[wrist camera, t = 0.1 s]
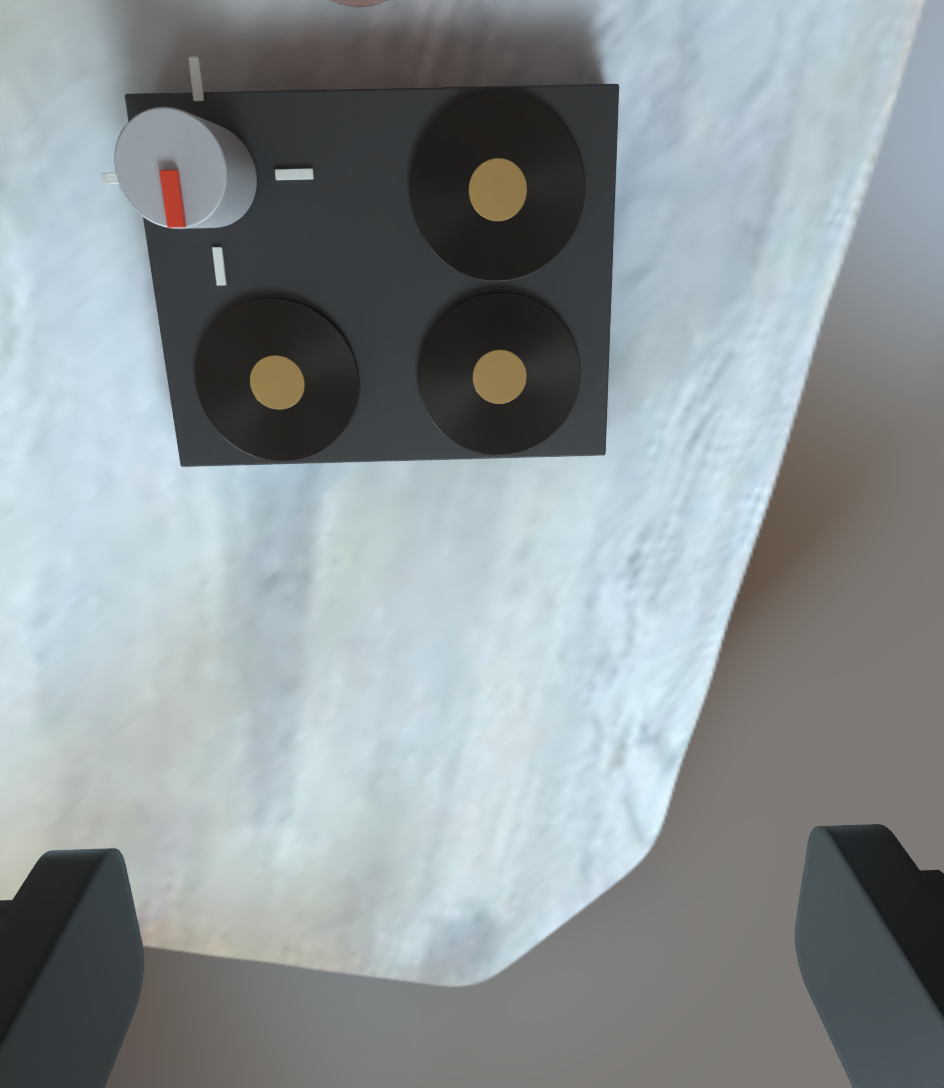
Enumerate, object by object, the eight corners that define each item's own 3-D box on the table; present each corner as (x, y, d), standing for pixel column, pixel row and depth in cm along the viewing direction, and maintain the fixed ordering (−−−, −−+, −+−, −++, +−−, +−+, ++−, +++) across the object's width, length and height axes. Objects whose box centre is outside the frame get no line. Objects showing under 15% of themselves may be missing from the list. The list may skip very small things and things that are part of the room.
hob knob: (152, 123, 31) (100, 106, 26) (251, 121, 31) (216, 104, 26) (167, 228, 32) (120, 230, 27) (262, 226, 32) (231, 227, 27)
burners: (157, 99, 30) (154, 97, 30) (586, 90, 31) (588, 89, 30) (208, 461, 35) (206, 464, 35) (577, 452, 36) (579, 454, 35)
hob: (111, 71, 32) (82, 58, 30) (608, 61, 33) (621, 48, 30) (170, 452, 38) (150, 469, 35) (596, 441, 38) (606, 456, 35)
